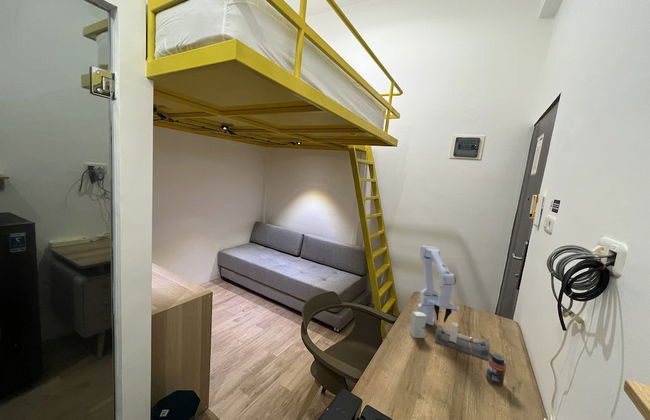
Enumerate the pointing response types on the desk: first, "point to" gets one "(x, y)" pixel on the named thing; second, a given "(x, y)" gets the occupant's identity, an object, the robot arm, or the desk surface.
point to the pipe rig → (463, 343)
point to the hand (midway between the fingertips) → (440, 320)
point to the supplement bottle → (496, 370)
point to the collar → (453, 332)
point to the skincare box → (418, 324)
